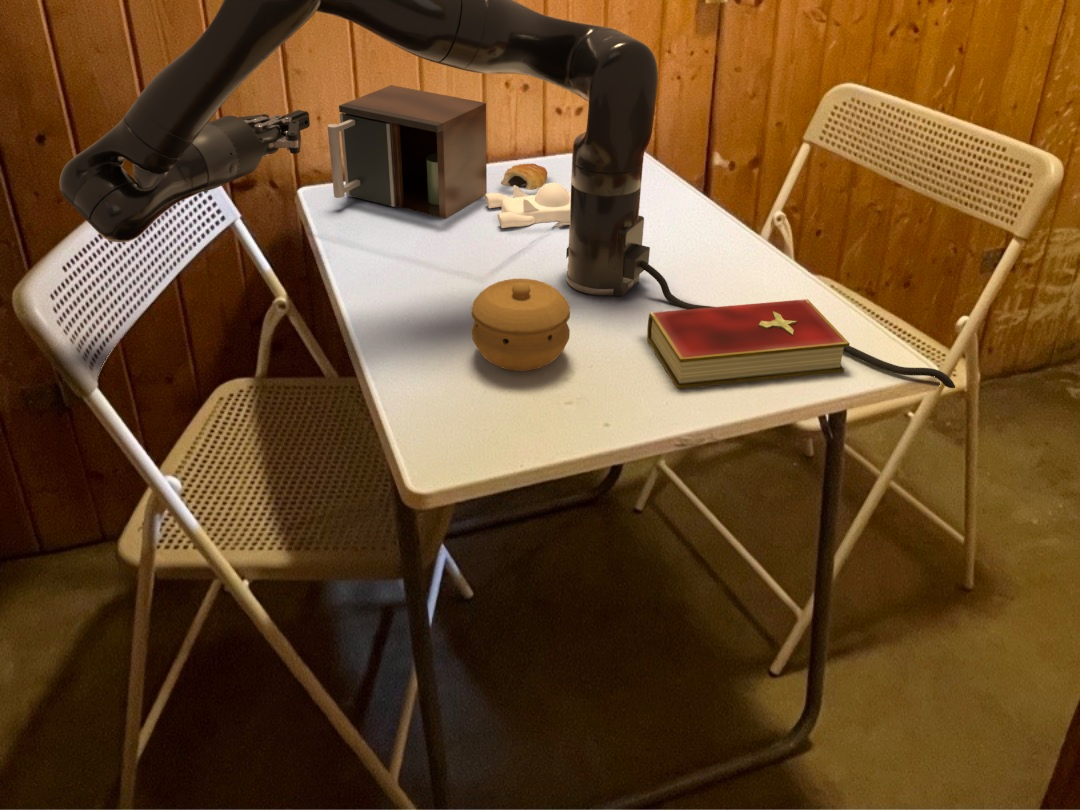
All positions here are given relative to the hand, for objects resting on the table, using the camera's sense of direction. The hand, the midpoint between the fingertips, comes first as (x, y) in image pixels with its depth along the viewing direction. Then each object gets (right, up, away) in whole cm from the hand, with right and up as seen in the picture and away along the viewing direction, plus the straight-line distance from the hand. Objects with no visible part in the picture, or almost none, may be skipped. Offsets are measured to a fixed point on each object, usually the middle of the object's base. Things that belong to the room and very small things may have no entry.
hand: (304, 117), depth 139 cm
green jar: (+17, -7, +23) cm, 29 cm away
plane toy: (+34, -10, +20) cm, 41 cm away
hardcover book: (+57, -33, -14) cm, 68 cm away
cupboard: (+13, -6, +25) cm, 29 cm away
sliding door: (+4, -8, +19) cm, 21 cm away
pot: (+30, -34, -16) cm, 48 cm away
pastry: (+30, -3, +32) cm, 44 cm away
